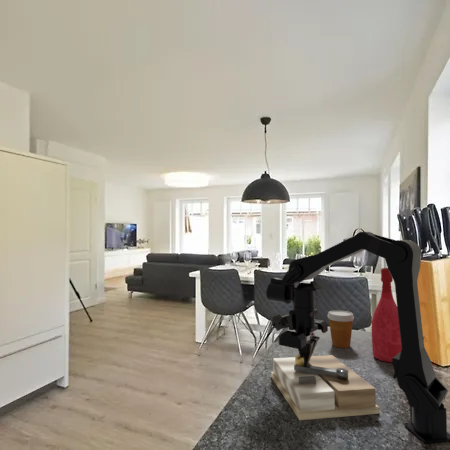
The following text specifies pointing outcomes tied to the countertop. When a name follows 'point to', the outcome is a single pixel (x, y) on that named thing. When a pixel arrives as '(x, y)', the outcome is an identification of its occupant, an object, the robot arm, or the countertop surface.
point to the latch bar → (319, 369)
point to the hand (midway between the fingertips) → (305, 364)
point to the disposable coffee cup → (340, 328)
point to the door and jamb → (323, 390)
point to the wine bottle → (386, 323)
